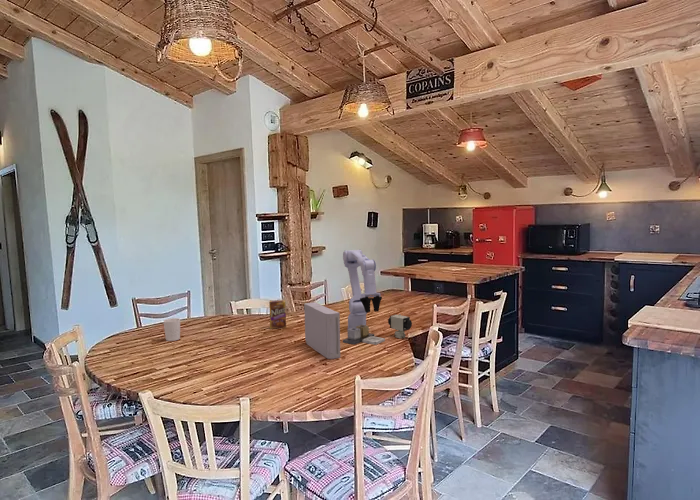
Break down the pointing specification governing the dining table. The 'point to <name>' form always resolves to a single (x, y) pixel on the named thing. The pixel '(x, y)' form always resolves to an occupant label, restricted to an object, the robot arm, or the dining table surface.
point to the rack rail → (356, 341)
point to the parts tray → (373, 340)
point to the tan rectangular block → (363, 330)
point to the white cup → (172, 329)
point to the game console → (322, 330)
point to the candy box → (277, 314)
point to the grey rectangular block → (354, 334)
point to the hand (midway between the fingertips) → (372, 312)
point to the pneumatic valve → (400, 324)
